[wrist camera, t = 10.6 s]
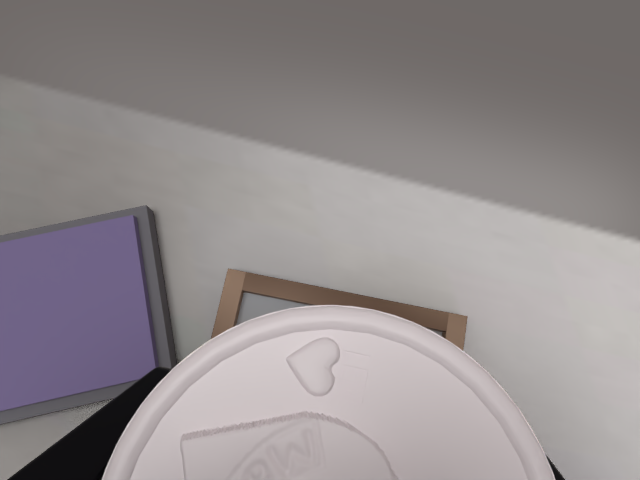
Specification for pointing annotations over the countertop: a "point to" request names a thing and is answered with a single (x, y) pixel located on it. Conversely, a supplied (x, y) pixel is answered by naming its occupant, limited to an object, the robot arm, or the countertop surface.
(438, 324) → the marked square
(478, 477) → the smoothie
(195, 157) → the countertop surface
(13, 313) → the ink pad
